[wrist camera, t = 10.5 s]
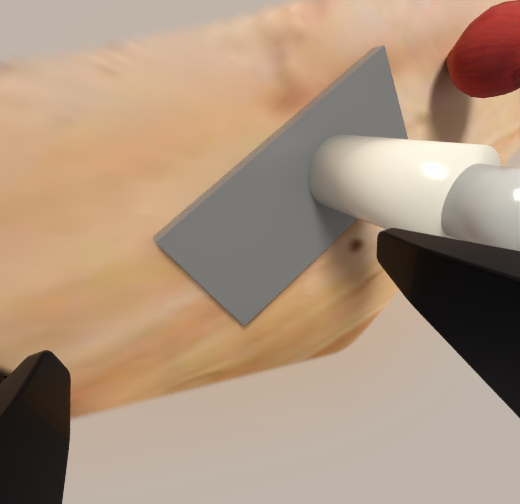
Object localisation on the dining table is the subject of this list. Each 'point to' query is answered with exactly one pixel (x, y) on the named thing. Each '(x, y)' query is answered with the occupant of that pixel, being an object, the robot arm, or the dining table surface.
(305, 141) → the slate board
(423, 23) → the dining table surface
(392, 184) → the white bottle
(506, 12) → the onion
